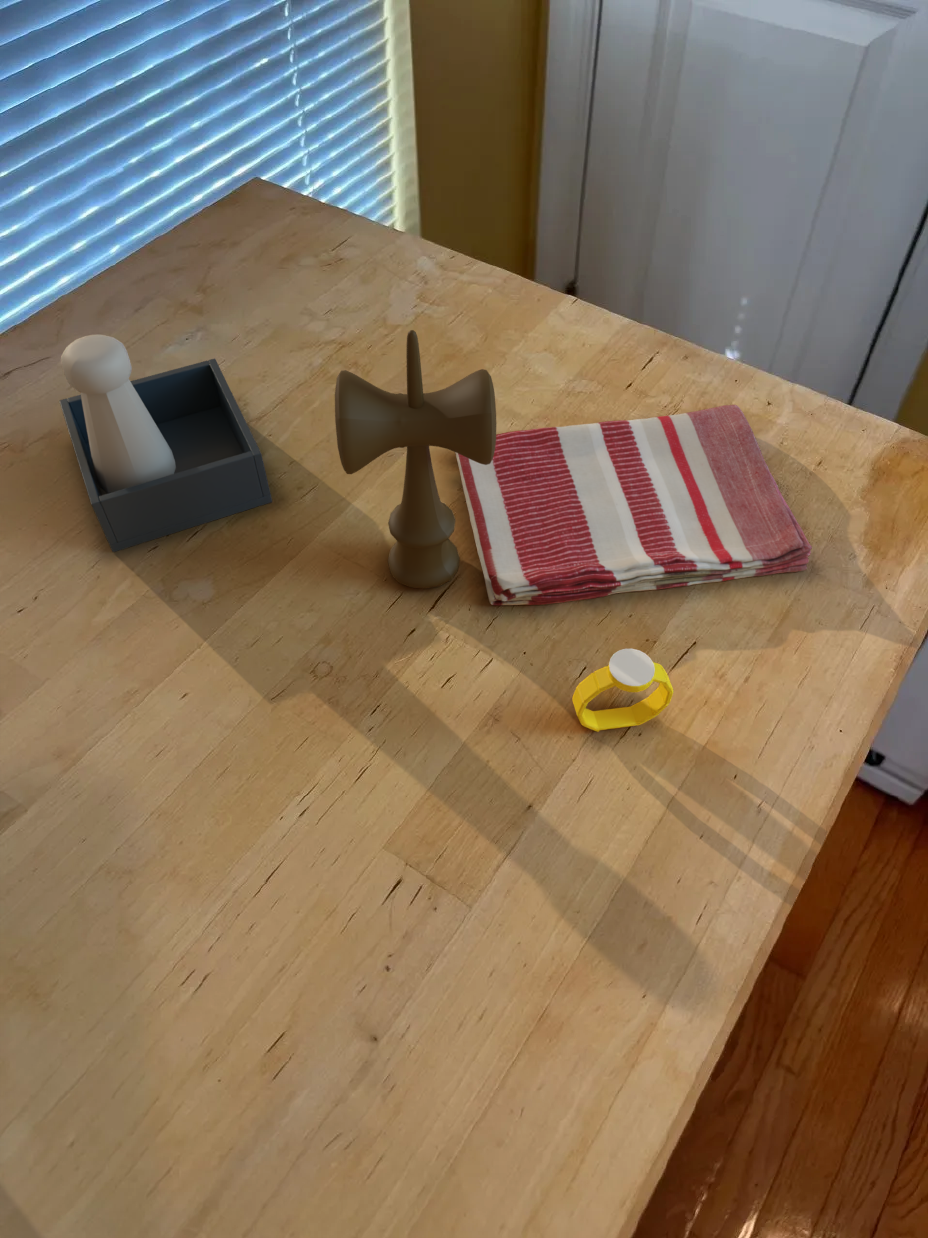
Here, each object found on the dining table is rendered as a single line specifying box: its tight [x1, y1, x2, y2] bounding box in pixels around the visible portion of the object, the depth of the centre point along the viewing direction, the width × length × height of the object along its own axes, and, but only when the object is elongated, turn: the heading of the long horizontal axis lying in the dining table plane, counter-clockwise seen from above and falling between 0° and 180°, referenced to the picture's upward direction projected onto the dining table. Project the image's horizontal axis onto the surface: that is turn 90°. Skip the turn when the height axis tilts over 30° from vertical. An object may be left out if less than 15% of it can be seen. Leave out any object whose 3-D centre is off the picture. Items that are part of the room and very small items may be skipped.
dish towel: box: [454, 404, 813, 606], centre depth 70 cm, size 17×23×3 cm
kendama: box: [334, 329, 497, 589], centre depth 60 cm, size 6×10×20 cm, turn 93°
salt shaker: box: [60, 333, 176, 494], centre depth 66 cm, size 6×6×13 cm
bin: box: [59, 357, 273, 553], centre depth 72 cm, size 12×12×5 cm
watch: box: [571, 648, 674, 733], centre depth 58 cm, size 6×3×6 cm, turn 101°
